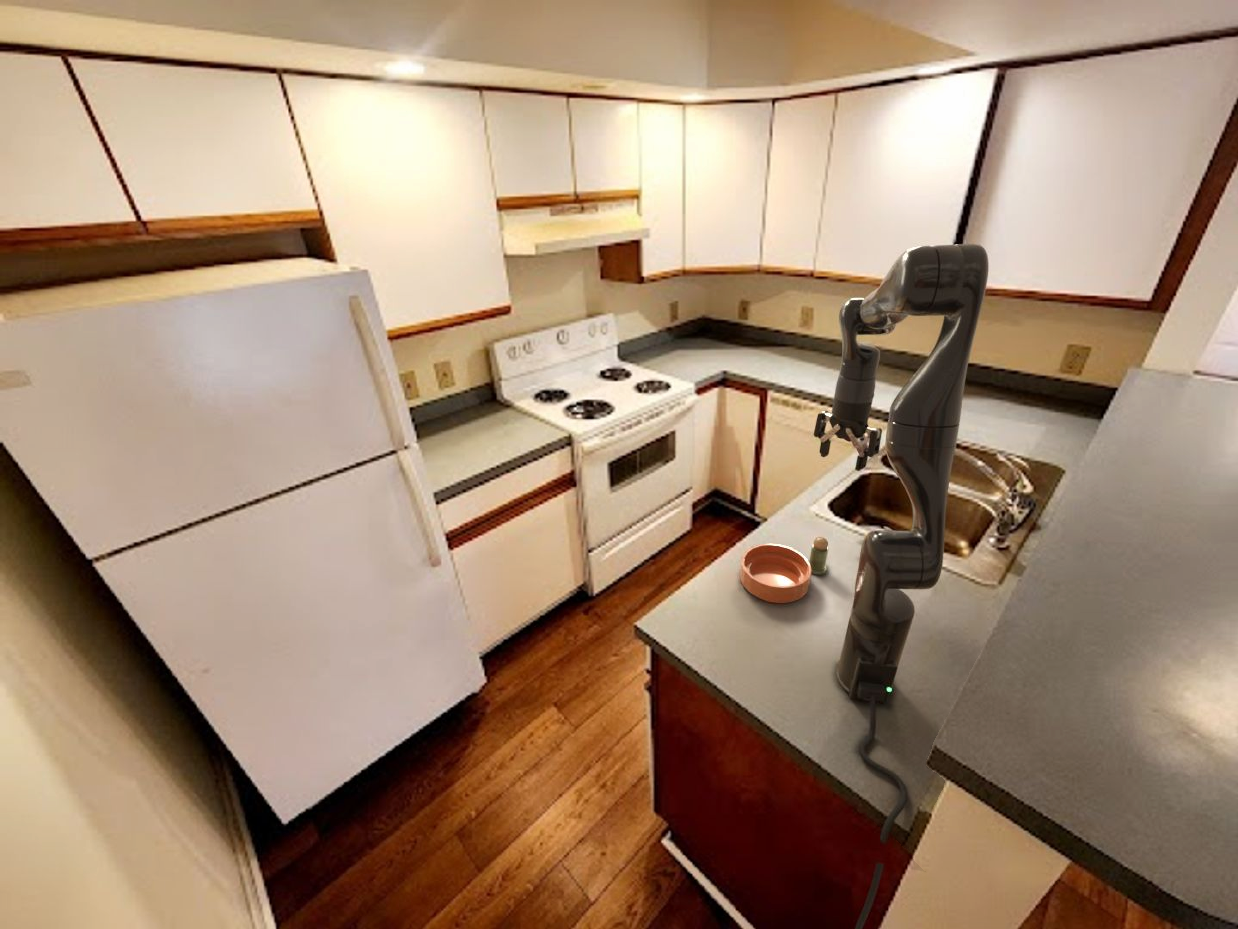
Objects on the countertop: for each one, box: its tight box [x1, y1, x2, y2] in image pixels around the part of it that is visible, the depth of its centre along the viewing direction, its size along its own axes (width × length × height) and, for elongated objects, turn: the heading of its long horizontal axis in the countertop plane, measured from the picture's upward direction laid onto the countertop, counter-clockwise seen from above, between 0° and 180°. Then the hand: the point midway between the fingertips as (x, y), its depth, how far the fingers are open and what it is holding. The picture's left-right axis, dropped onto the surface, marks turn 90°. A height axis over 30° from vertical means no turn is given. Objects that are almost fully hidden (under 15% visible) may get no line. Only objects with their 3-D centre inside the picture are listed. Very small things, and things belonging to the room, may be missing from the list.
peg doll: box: [808, 536, 829, 576], centre depth 124 cm, size 4×4×9 cm
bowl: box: [740, 543, 812, 604], centre depth 122 cm, size 15×15×5 cm
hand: (841, 462), depth 120 cm, fingers open, 8 cm apart
